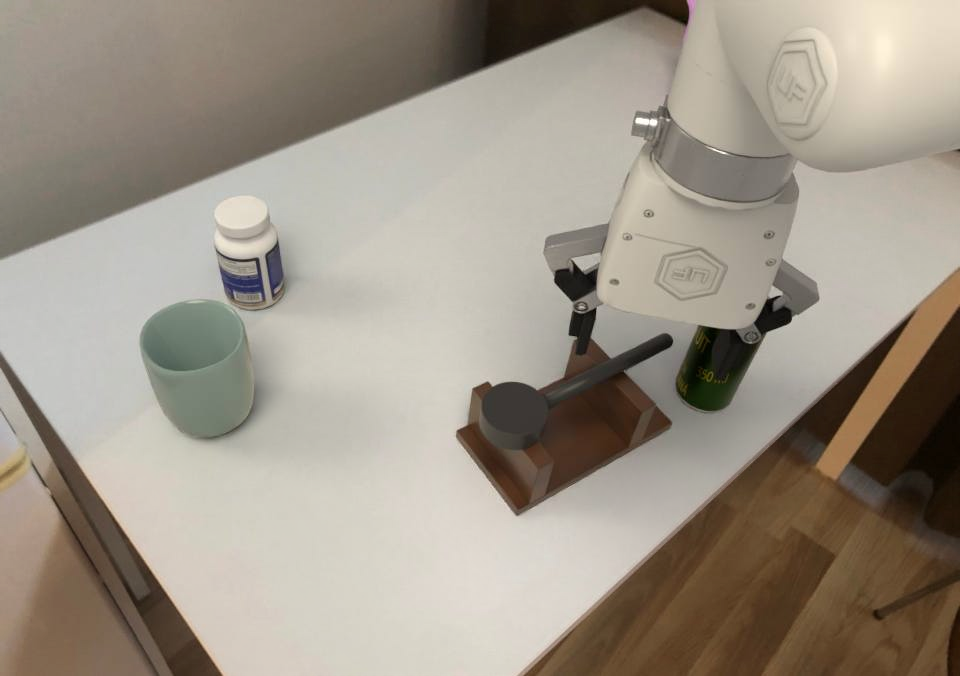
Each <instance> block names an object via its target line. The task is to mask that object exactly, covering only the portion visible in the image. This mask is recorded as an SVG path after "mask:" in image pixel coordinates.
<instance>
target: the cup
mask: <svg viewBox="0 0 960 676" xmlns="http://www.w3.org/2000/svg"><path fill="white" fill-rule="evenodd" d="M138 342H139V343H138V345H139V351H140V356H141V359H142V362H143V366H144V368H145V371H146V372H145V373H146V375H147V377H148V380H149V382H150V386H151V388H152V390H153V394H154V396H155V398H156V400H157V402H158V404H159V406H160V408H161V411H162V412H163V414H164V415H165V417H166V418H167V419H168V420H169V422H170V423H171V424H172V425H173V426H174V427H175V428H176V429H177V430H179V431H180V432H181V433H183V434H185V435H187V436H190V437H194V438H199V439H200V438H202V439H207V438H213V437H214V438H215V437H218V436H222V435H224V434H227V433H229V432H231V431H233V430H234V429H237V428H238V427H239V426H240V425H241V424H242V423H243V422H244V421H245V420H246V419H247V417H248V416H249V414H250V412H251V410H252V407H253V403H254V397H255V377H254V366H253V361H252V354H251V350H250V344H249V340H248V334H247V331H246V327H245V324H244V321H243V320H242V318H241V317H240V315H239V314H238V313H237V312H236V310H235V309H234V308H232V307H231V306H229V304H226V303H224V302H221V301H218V300H215V299H206V298H205V299H204V298H202V299H201V298H197V299H189V300H184V301H180V302H177V303H173V304H170V305H168V306H166V307H164V308H161V309H159V310H158V311H156V312H155V313H154V314H153V315H151V316H150V317H149V318H148V319H146V321H145V323H144V325H142V328H141V330H140V333H139V341H138Z"/></svg>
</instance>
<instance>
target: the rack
mask: <svg viewBox="0 0 960 676" xmlns="http://www.w3.org/2000/svg"><path fill="white" fill-rule="evenodd" d="M576 341H577V338H576V339H574V340H573V341H572V345H571V349H570V353H569V356H568V361H567V364H566V368H565V372H564V376H563V377H562V378H560V379H557V380H556V381H553V382H552V383H549V384H548V385H545V386H543V387H541V388H539V389H537V390H538V391H539V392H540V393H541V394H542V393H544V392H546V391H548V390H550V389H552V388H554V387H556V386H558V385H560V384H562V383H564V382H566V381H568V380H570V379H572V378H574V377H576V376H578V375H580V374H582V373H584V372H586V371H588V370H590V369H592V368H594V367H596V366H598V365H600V364H602V363H604V362H606V361H608V360H610V359H612V357H610V356H609V354H608V353H606V351H605V350H604V349H603V348H602V347H601V346H600V345H599V344H598V343H597V342H596V341H595V340H594V339H593V338H592V337H591V338H590V341H589V345H588V348H587V352H586V355H585V354H583V356H579V355H575V350H576ZM492 387H493V385H492V384H491V382H489V380H488V381H485V382H483V383H480V384H478V385H477V386H474V387H473V388H472V389H471V395H470V403H469V410H468V418H467V425H464V426H463V427H460V428H459V429H457V430H456V433H455V438H456V440H458V442H459V443H460V444H461V446H462V447H463V448H464V450H465V451H466V452H467V454H468V455H469V456H470V457H471V459H472V460H473V462H475V464H476V465H477V466H478V468H479V469H480V471H481V472H482V473H483V474H484V476H485V477H486V478H487V480H488V481H489V482H490V484H491V485H492V486H493V488H495V491H497V493H498V494H499V495H500V497H501V498H502V499H503V500H504V502H505V503H506V504H507V506H508V507H509V508H510V510H511V511H512V512H513V514H514V515H515V516H516V517H518V516H520V515H522V514H524V513H525V512H527V511H529V510H531V509H532V508H534V507H536V506H537V505H540V504H542V503H543V502H545V501H546V500H548V499H551V497H553V496H556V495H557V494H559V493H560V492H562V491H564V490H566V489H567V488H569V487H571V486H572V485H574V484H576V483H577V482H579V481H581V480H583V479H585V478H587V477H588V476H590V475H591V474H593V473H595V472H596V471H599V470H601V469H602V468H604V467H606V466H608V465H609V464H611V463H612V462H614V461H617V460H618V459H620V458H622V457H623V456H625V455H627V454H628V453H630V452H631V451H634V450H635V449H637V448H639V447H641V446H642V445H644V444H646V443H647V442H649V441H651V440H653V439H654V438H656V437H658V436H660V435H661V434H663V433H665V432H667V431H669V430H670V429H671V427H672V425H673V421H672V420H671V419H670V418H669V417H668V416H667V415H666V414H665V413H664V412H663V411H662V410H661V409H660V408H659V407H658V405H657V403H656V402H655V401H654V400H653V399H652V398H651V397H650V396H649V395H648V394H647V393H646V392H645V391H644V390H643V389H642V388H641V387H640V386H639V384H637V383H636V382H635V381H634V380H633V379H632V378H631V377H630V376H629V375H628V373H626V372H625V371H623V372H621V373H620V374H618V375H616V376H614V377H612V378H610V379H608V380H606V381H604V382H602V383H600V384H598V385H596V386H594V387H592V388H590V389H588V390H586V391H584V392H582V393H580V394H579V395H577V396H575V397H573V398H571V399H569V400H567V401H565V402H563V403H561V404H559V405H557V406H555V407H553V408H551V409H549V415H548V419H547V423H546V427H545V431H544V434H543V436H542V438H541V439H540V440H539V441H538V442H537V443H536V444H535V445H533V446H532V447H529V448H527V449H523V450H507V449H503V448H500V447H498V446H496V445H494V444H493V443H491V442H490V441H489V440H488V439H487V438H486V437H485V436H484V434H483V433H482V431H481V428H480V424H479V417H480V410H481V404H482V399H483V397H484V395H485V394H486V392H487V391H488V390H489V389H491V388H492Z"/></svg>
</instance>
